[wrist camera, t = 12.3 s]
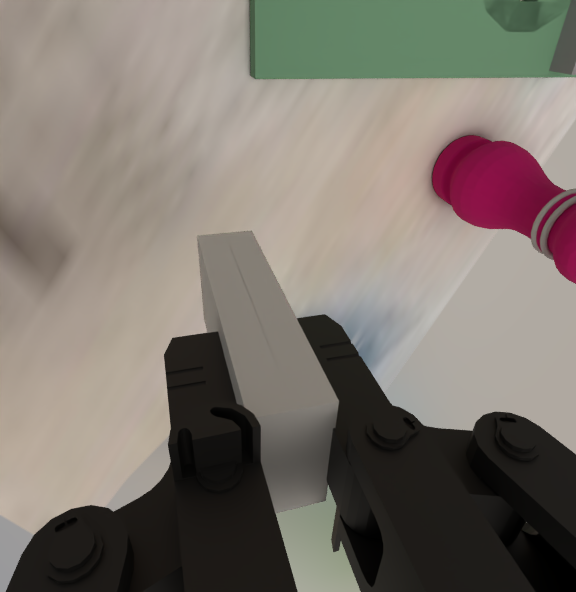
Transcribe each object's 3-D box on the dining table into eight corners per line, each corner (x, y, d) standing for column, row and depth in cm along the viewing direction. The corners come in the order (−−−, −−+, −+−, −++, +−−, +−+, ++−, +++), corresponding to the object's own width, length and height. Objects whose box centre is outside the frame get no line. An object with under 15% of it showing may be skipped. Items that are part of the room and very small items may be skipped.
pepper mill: (479, 206, 45) (670, 322, 29) (417, 205, 43) (586, 330, 27) (507, 131, 41) (743, 218, 26) (440, 126, 39) (653, 217, 23)
